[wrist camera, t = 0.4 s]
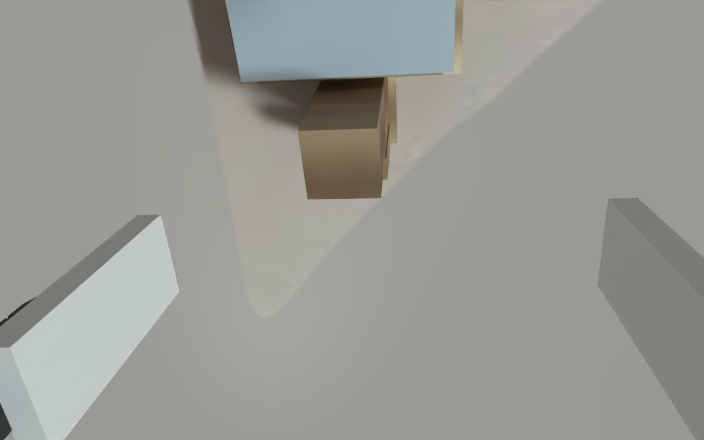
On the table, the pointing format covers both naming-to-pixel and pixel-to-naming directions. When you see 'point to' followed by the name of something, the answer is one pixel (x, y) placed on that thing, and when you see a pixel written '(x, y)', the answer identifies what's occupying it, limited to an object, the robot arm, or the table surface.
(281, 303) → the table surface
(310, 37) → the lid
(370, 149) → the brown wooden block
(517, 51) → the table surface
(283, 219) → the table surface
